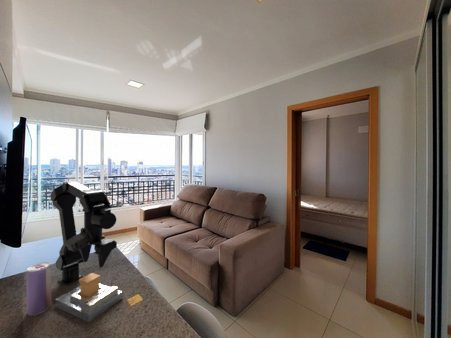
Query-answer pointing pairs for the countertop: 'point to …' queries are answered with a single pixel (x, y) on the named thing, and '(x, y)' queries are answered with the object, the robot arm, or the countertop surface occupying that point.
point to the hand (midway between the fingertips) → (93, 264)
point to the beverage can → (38, 288)
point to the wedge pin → (89, 285)
